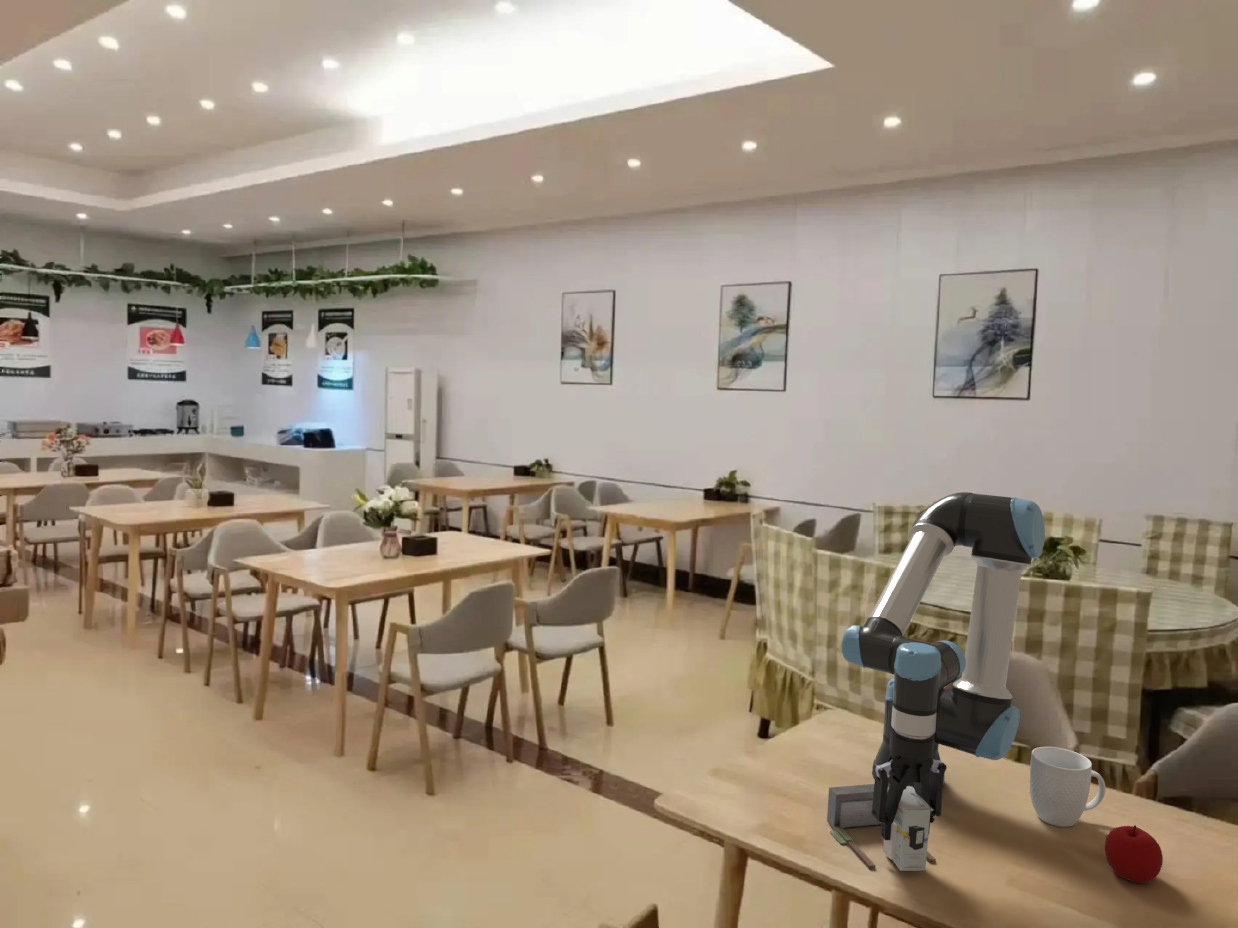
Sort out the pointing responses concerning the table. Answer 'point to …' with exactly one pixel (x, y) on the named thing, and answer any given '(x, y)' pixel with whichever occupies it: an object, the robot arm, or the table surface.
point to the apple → (1133, 854)
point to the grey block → (851, 806)
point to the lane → (846, 839)
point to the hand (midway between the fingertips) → (903, 853)
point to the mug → (1061, 785)
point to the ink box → (911, 831)
